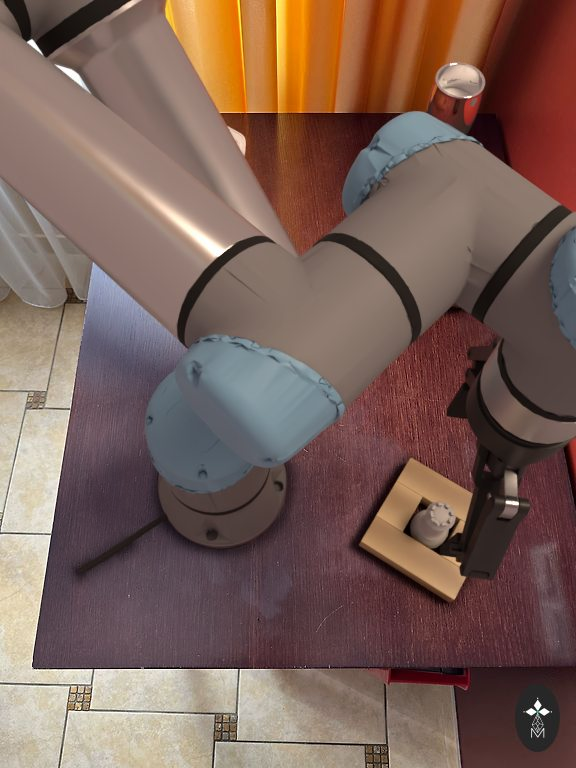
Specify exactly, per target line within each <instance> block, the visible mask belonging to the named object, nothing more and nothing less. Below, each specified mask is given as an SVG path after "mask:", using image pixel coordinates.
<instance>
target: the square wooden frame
mask: <svg viewBox="0 0 576 768" xmlns="http://www.w3.org/2000/svg"><path fill="white" fill-rule="evenodd" d="M472 495H473V492H471V491H469V490H467V489H466V488H464V487H462V486H460V485H459V484H457V483H455V482H453V481H452V480H451V479H449V478H447V477H445V476H443V475H442V474H440V473H438V472H437V471H435V470H433V469H432V468H430V467H428V466H426V465H425V464H423V463H421V462H420V461H418V460H417V459H414V458H413V457H410V458H409V459H408V460H407V462H406V464H405V465H404V467H403V469H402V471H401V473H400V474H399V476H398V478H397V479H396V481H395V483H394V484H393V486H392V488H391V489H390V491H389V493H388V494H387V496H386V498H385V499H384V501H383V503H382V504H381V506H380V508H379V509H378V512H376V515H375V516H374V518H373V520H372V521H371V523H370V525H369V527H368V528H367V530H366V532H365V533H364V535H363V537H362V538H361V540H360V542H359V543H358V546H359V547H360V548H362V549H364V550H365V551H367V552H368V553H370V554H371V555H373V556H374V557H376V558H378V559H379V560H380V561H382V562H384V563H386V564H387V565H389V566H390V567H392V568H393V569H395V570H397V572H398V571H399V572H400V573H401V574H403V575H404V576H406V577H407V578H409V579H411V580H412V581H414V582H416V583H418V584H419V585H420V586H422V587H424V588H425V589H426V590H428V591H430V592H431V593H433V594H435V596H438V597H439V598H441V599H442V600H444V601H446V602H448V603H451V602H453V601H455V600H456V598H457V596H458V594H459V592H460V590H461V589H462V587H463V585H464V583H465V580H466V579H467V577H465V576H461V574H460V570H459V568H460V565H461V563H459V562H456V558H455V557H448V556H441V555H440V553H437V552H435V551H434V550H432V548H427V547H426V546H424V545H422V544H421V543H419V542H418V541H416V540H414V539H413V537H412V536H409V535H408V534H406V533H405V532H404V531H405V529H406V526H407V525H408V524H409V521H410V520H411V518H412V516H413V515H414V513H415V512H416V509H417V508H418V506H419V504H421V505H423V506H424V507H426V508H428V507H429V505H430V504H432V503H434V502H439V501H441V502H445V503H447V504H448V505H450V506H451V507H452V509H453V510H454V512H455V517H456V519H455V523H454V525H453V527H452V530H451V532H450V533H449V534H448V537H447V538H446V540H445V542H447V541H448V540H449V539H450V538H451V537H452V536H454V535H455V534H456V533H457V532H459V533H462V532H463V528H464V525H465V521H466V517H467V513H468V510H469V506H470V502H471V498H472Z"/></svg>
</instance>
